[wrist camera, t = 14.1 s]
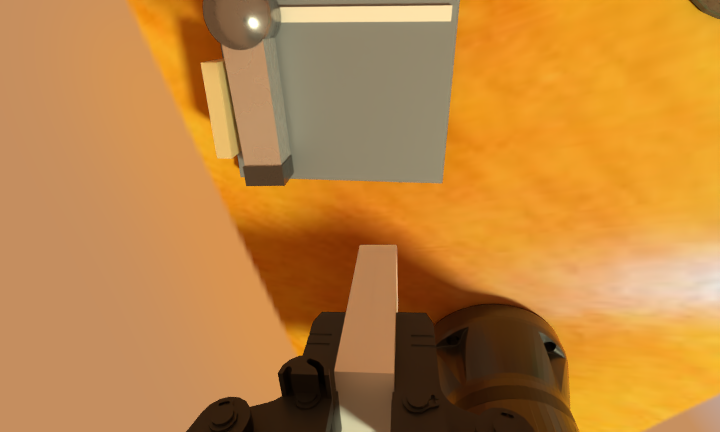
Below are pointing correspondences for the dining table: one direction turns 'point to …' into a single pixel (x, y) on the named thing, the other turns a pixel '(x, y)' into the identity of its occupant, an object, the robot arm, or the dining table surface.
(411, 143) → the plate
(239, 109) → the lock bar
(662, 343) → the dining table surface
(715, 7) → the candlestick holder
